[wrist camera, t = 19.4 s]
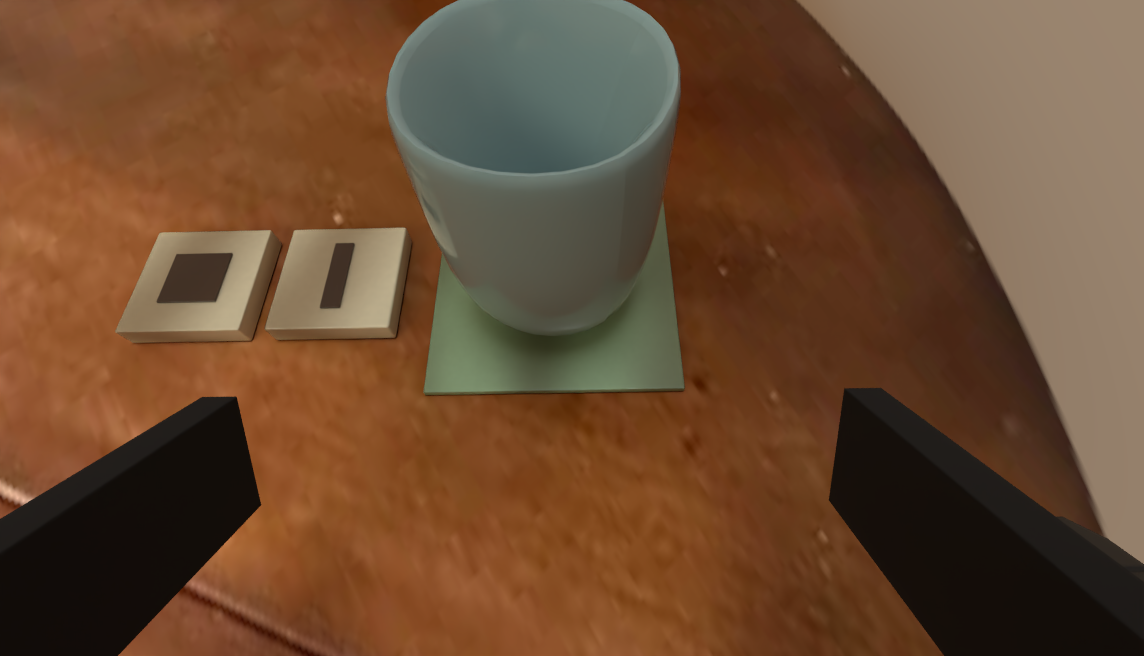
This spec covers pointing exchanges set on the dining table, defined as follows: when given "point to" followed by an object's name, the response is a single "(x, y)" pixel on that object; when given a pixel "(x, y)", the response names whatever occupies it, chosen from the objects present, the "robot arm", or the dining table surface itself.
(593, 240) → the cup
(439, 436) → the dining table surface
